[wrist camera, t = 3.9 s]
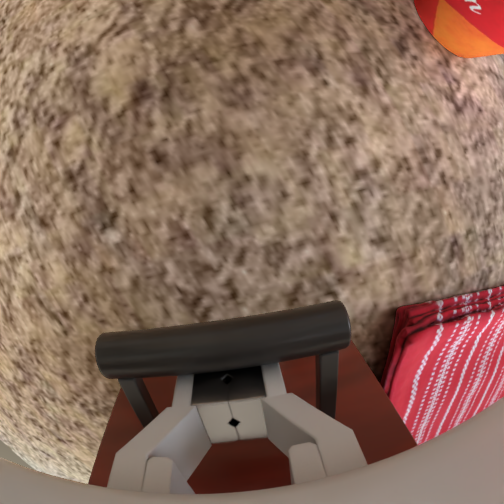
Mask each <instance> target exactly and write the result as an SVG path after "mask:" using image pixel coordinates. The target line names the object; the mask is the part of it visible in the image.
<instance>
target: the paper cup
mask: <svg viewBox="0 0 504 504" xmlns="http://www.w3.org/2000/svg"><path fill="white" fill-rule="evenodd" d="M414 4H415V7H416V10H417V12H418V14H419V16H420V18H421V20H422V22H423V23H424V25H425V26H426V28H427V29H428V30H429V32H430V33H431V34H432V35H433V37H434V38H435V39H436V40H437V41H438V42H439V43H440V44H441V45H442V46H443V47H445V48H446V49H447V50H449V51H450V52H452V53H453V54H455V55H457V56H460V57H463V58H474V57H482V56H489V55H496V54H504V0H414Z"/></svg>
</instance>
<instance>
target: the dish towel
mask: <svg viewBox="0 0 504 504" xmlns="http://www.w3.org/2000/svg"><path fill="white" fill-rule="evenodd" d="M380 385H381V386H382V388H383V390H384V391H385V393H386V394H387V396H388V398H389V399H390V401H391V402H392V404H393V405H394V407H395V409H396V410H397V412H398V414H399V415H400V417H401V418H402V420H403V422H404V423H405V425H406V426H407V428H408V430H409V431H410V433H411V435H412V436H413V438H414V440H415V441H416V443H417V445H420V444H422V443H424V442H426V441H428V440H430V439H433V438H435V437H437V436H439V435H441V434H443V433H444V432H446V431H448V430H450V429H452V428H454V427H456V426H457V425H459V424H461V423H463V422H465V421H466V420H468V419H470V418H471V417H473V416H475V415H476V414H478V413H480V412H481V411H483V410H484V409H486V408H487V407H489V406H490V405H492V404H493V403H495V402H496V401H498V400H499V399H501V398H502V397H504V285H503V286H499V287H495V288H492V289H487V290H485V291H479V292H474V293H470V294H464V295H456V296H453V297H451V298H445V299H442V300H437V301H432V300H430V301H427V302H424V303H422V304H414V305H407V306H402V307H399V308H398V309H397V311H396V318H395V324H394V329H393V335H392V339H391V343H390V349H389V354H388V357H387V361H386V365H385V368H384V372H383V375H382V379H381V382H380Z"/></svg>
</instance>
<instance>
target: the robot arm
mask: <svg viewBox="0 0 504 504" xmlns="http://www.w3.org/2000/svg"><path fill="white" fill-rule="evenodd" d="M260 438H268V439H269V440H270V441H271V442H272V443H273V444H274V445H275V446H276V447H278V448H279V449H280V450H281V451H282V452H283V453H284V454H285V455H286V456H287V457H288V458H289V466H290V476H291V485H288V486H282V487H276V488H269V489H262V490H254V491H244V492H233V493H217V494H195V492H194V491H193V490H192V488H191V487H190V486H189V484H188V483H187V480H188V479H189V477H190V476H191V475H192V473H193V472H194V470H195V469H196V467H197V466H198V465H199V463H200V462H201V460H202V459H203V457H204V456H205V455H206V453H207V452H208V450H209V449H210V447H211V446H212V445H211V444H215V443H225V442H233V441H241V440H251V439H260ZM0 504H504V397H502V398H501V399H499V400H498V401H496V402H495V403H493V404H492V405H490V406H489V407H487V408H486V409H484V410H483V411H481V412H480V413H478V414H476V415H475V416H473V417H471V418H470V419H468V420H466V421H465V422H463V423H461V424H459V425H457V426H456V427H454V428H452V429H450V430H448V431H446V432H444V433H443V434H441V435H439V436H437V437H435V438H433V439H430V440H428V441H426V442H424V443H422V444H420V445H418V446H415V447H413V448H411V449H408V450H406V451H404V452H401V453H399V454H396V455H394V456H391V457H389V458H386V459H383V460H381V461H378V462H375V463H372V464H369V465H368V464H367V462H366V459H365V457H364V455H363V453H362V450H361V448H360V446H359V443H358V441H357V439H356V437H355V434H354V432H353V430H352V429H350V428H348V427H347V426H345V425H343V424H342V423H340V422H338V421H336V420H335V419H333V418H331V417H330V416H328V415H326V414H325V413H323V412H322V411H320V410H318V409H317V408H315V407H314V406H312V405H310V404H309V403H307V402H306V401H304V400H302V399H301V398H299V397H298V396H296V395H295V394H293V393H287V392H286V388H285V384H284V381H283V377H282V373H281V369H280V365H279V363H273V364H267V365H261V366H255V367H248V368H242V369H234V370H227V371H219V372H210V373H201V374H191V375H179V376H177V380H176V385H175V390H174V396H173V401H172V407H167V408H166V409H164V410H163V411H162V412H161V413H160V414H159V415H158V416H157V417H156V418H155V419H154V420H153V421H151V422H150V423H149V424H148V425H147V426H146V427H145V428H144V429H143V430H142V431H140V432H139V433H138V434H137V435H136V436H135V437H134V438H133V439H131V440H130V441H129V442H128V443H127V444H126V445H125V446H124V447H122V448H121V449H120V450H119V451H118V452H117V453H116V455H115V458H114V462H113V465H112V469H111V473H110V476H109V480H108V484H107V487H101V486H95V485H90V484H85V483H80V482H76V481H72V480H67V479H63V478H60V477H56V476H52V475H49V474H45V473H42V472H39V471H36V470H33V469H29V468H27V467H24V466H21V465H18V464H16V463H13V462H10V461H8V460H5V459H3V458H0Z"/></svg>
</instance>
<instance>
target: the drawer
mask: <svg viewBox="0 0 504 504" xmlns="http://www.w3.org/2000/svg"><path fill="white" fill-rule="evenodd" d="M95 357H96V362H97V365H98V368H99V370H100V372H101V373H102V375H103V376H105V377H106V378H109V379H118V381H119V383H120V385H121V389H120V392H119V394H118V397H117V399H116V402H115V405H114V408H113V410H112V413H111V416H110V419H109V421H108V424H107V427H106V430H105V433H104V436H103V439H102V442H101V444H100V447H99V451H98V454H97V457H96V460H95V463H94V466H93V469H92V473H91V476H90V479H89V483H88V484H90V485H95V486H101V487H107V484H108V480H109V476H110V473H111V469H112V465H113V462H114V458H115V455H116V453H117V452H118V451H119V450H120V449H121V448H122V447H124V446H125V445H126V444H127V443H128V442H129V441H130V440H131V439H133V438H134V437H135V436H136V435H137V434H138V433H139V432H140V431H142V430H143V429H144V428H145V427H146V426H147V425H148V424H149V423H150V422H151V421H153V420H154V419H155V418H156V417H157V416H158V415H159V414H160V413H161V412H162V411H163V410H164V409H166V408H167V407H172V401H173V396H174V390H175V385H176V380H177V376H179V375H191V374H201V373H210V372H219V371H227V370H234V369H242V368H248V367H255V366H261V365H267V364H273V363H279V365H280V369H281V373H282V377H283V381H284V384H285V388H286V392H287V393H293V394H295V395H296V396H298V397H299V398H301V399H302V400H304V401H306V402H307V403H309V404H310V405H312V406H314V407H315V408H317V409H318V410H320V411H322V412H323V413H325V414H326V415H328V416H330V417H331V418H333V419H335V420H336V421H338V422H340V423H342V424H343V425H345V426H347V427H348V428H350V429H352V430H353V432H354V434H355V437H356V439H357V441H358V443H359V446H360V448H361V450H362V453H363V455H364V457H365V459H366V462H367V464H368V465H369V464H372V463H375V462H378V461H381V460H383V459H386V458H389V457H391V456H394V455H396V454H399V453H401V452H404V451H406V450H408V449H411V448H413V447H415V446H418V445H417V443H416V441H415V440H414V438H413V436H412V435H411V433H410V431H409V430H408V428H407V426H406V425H405V423H404V422H403V420H402V418H401V417H400V415H399V414H398V412H397V410H396V409H395V407H394V405H393V404H392V402H391V401H390V399H389V398H388V396H387V394H386V393H385V391H384V390H383V388H382V386H381V385H380V383H379V382H378V380H377V379H376V377H375V376H374V374H373V372H372V371H371V369H370V368H369V366H368V365H367V363H366V362H365V360H364V359H363V357H362V356H361V354H360V352H359V351H358V349H357V348H356V346H355V345H354V343H353V342H352V340H351V325H350V320H349V316H348V313H347V310H346V308H345V306H344V304H343V303H342V302H341V301H338V300H335V301H331V302H326V303H320V304H315V305H310V306H305V307H299V308H294V309H288V310H283V311H277V312H271V313H265V314H259V315H253V316H246V317H240V318H233V319H226V320H219V321H212V322H204V323H196V324H188V325H180V326H171V327H162V328H153V329H143V330H132V331H121V332H108V333H102V334H101V335H100V336H99V337H98V338H97V341H96V345H95ZM211 445H212V446H211V447H210V449H209V450H208V452H207V453H206V455H205V456H204V457H203V459H202V460H201V462H200V463H199V465H198V466H197V467H196V469H195V470H194V472H193V473H192V475H191V476H190V477H189V479H188V480H187V483H188V484H189V486H190V487H191V488H192V490H193V491H194V492H195V494H217V493H233V492H244V491H254V490H262V489H269V488H276V487H282V486H288V485H291V476H290V466H289V458H288V457H287V456H286V455H285V454H284V453H283V452H282V451H281V450H280V449H279V448H278V447H276V446H275V445H274V444H273V443H272V442H271V441H270V440H269V439H268V438H260V439H251V440H241V441H233V442H225V443H215V444H211Z"/></svg>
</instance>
